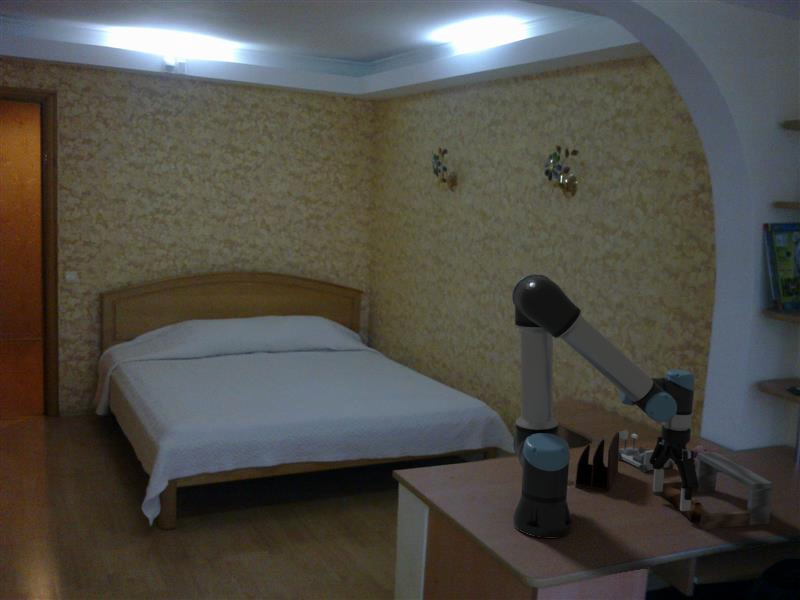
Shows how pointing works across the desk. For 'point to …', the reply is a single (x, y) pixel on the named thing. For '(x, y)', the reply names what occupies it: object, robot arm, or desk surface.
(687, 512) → the sunglasses case
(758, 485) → the walled lane
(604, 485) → the letter holder
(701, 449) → the video game controller
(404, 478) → the desk surface
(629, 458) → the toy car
